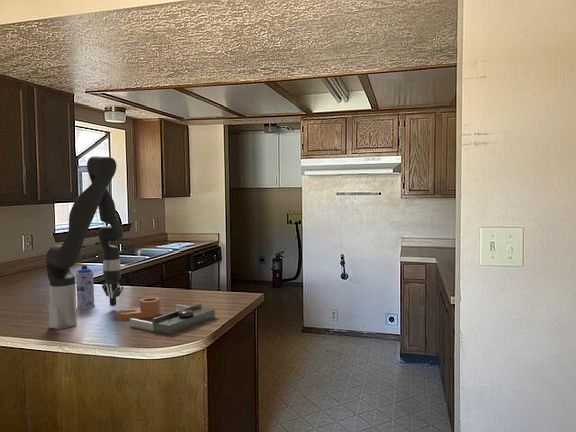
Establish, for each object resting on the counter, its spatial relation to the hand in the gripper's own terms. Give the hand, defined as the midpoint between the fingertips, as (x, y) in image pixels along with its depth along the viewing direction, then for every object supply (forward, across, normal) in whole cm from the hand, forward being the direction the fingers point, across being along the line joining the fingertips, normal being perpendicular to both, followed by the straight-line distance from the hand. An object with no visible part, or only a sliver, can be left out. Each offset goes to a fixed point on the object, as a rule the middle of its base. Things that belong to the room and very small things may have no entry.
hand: (113, 305), depth 202 cm
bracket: (+2, +19, -1) cm, 19 cm away
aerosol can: (+2, -16, -3) cm, 17 cm away
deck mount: (+2, +39, 0) cm, 39 cm away
